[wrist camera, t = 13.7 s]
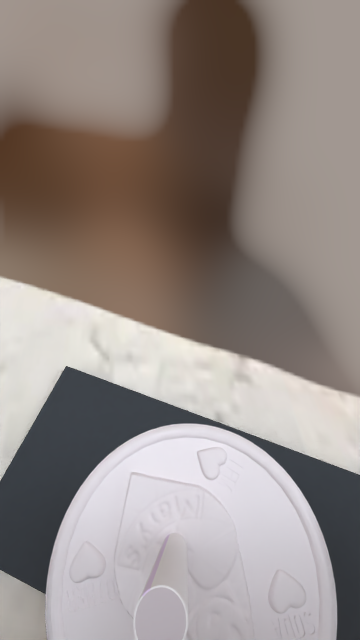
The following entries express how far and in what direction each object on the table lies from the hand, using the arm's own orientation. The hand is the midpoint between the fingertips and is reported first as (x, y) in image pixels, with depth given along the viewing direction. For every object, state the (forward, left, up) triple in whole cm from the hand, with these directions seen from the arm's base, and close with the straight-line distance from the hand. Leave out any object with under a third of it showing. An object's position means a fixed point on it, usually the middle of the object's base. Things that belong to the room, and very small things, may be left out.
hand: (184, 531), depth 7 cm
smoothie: (-1, 0, -10) cm, 10 cm away
